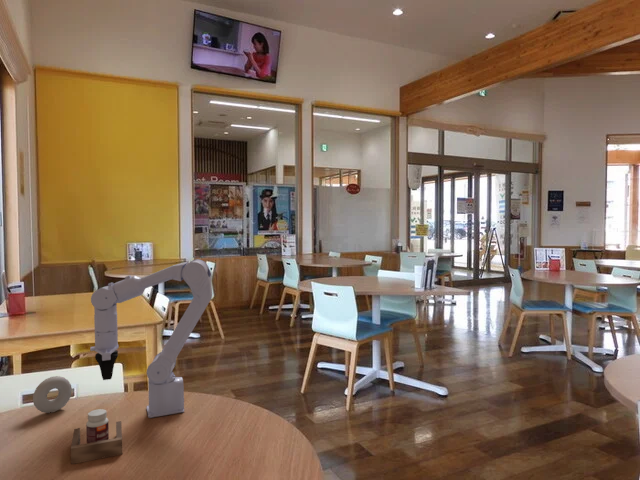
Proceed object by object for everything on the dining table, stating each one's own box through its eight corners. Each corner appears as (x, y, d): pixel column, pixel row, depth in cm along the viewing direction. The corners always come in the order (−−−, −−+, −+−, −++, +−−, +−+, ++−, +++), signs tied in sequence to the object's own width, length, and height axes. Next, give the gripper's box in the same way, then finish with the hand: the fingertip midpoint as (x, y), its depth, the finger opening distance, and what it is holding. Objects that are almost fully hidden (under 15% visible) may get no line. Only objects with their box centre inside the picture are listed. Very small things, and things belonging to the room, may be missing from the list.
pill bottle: (99, 453, 105) (98, 417, 105) (82, 450, 106) (81, 415, 106) (113, 443, 110) (112, 409, 109) (96, 440, 111) (95, 407, 111)
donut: (36, 419, 123) (35, 383, 122) (31, 416, 125) (30, 380, 124) (74, 407, 131) (73, 373, 130) (69, 404, 133) (68, 370, 132)
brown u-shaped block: (121, 434, 114) (121, 421, 114) (122, 454, 105) (122, 439, 105) (74, 443, 110) (74, 428, 110) (71, 464, 100) (70, 448, 100)
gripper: (91, 326, 130) (92, 372, 131) (88, 338, 117) (89, 390, 118) (118, 323, 133) (118, 369, 134) (118, 335, 120) (119, 385, 121)
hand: (107, 378), depth 126 cm, fingers closed
